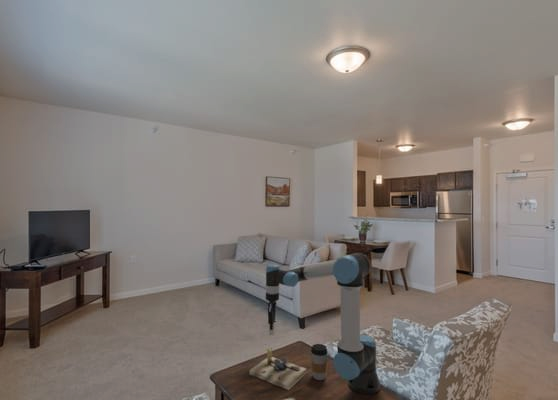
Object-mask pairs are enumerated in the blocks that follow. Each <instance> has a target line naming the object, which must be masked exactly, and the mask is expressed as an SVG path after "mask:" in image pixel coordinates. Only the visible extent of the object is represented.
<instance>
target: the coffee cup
mask: <svg viewBox="0 0 558 400" xmlns="http://www.w3.org/2000/svg"><path fill="white" fill-rule="evenodd" d="M310 353H311V369H312V377H313V379H315V380H316V381H323V380H325V378H326V373H327V363H328V361H327V359H328V358H327V356H328V349H327V346H326V345H324V344H321V343H315V344H313V345H312V346H311V348H310Z"/></svg>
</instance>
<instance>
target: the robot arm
mask: <svg viewBox="0 0 558 400" xmlns="http://www.w3.org/2000/svg"><path fill="white" fill-rule="evenodd" d="M371 265H372V264H371V261H370V259H369V257H368V256H367V255H365V254H364V253H361V252H354V253H351V254H345V255H341V256H340V257H338V258H336V260H332V261H328V262H322V263H317V264H311V265H306V266H300V267H297V268H292V269H289V270H282V269H281V267H280V265H279V264H276V263H275V264H271V263H270V264H267V265H266V271H265V286H264V288H265V292H266V293H265V300H266V301H268V304H267V321H268V322H267V324H268V329H269V330H268V336H274V335H275V323H276V322H277V320H276V313H277V304H278V303H277V301H278V300H280V285H283V286H287V287H292V288H293V287H296V285H298V283H299V282H304V281H311V280H316V279H322V278H330V277H334V278H335V280H336V285H337V286H338V287H339V288H340V340H339V341H338V342H337V353H336V354H335V355H334V357H333V360H332V364H333V368H334V370H335V371H336V372H337V373H338V375H339V376H340V377H341V378H343V379H344V380H347V385H348V387H349V388H350V389H351V390H353V391H354V392H356V393H358V394H362V395H373V394H376V393H378V392H379V391H380V389H381V382H380V379H379V376H378V373H377V344H376V343H377V341H376V340H375V338H373V337H371V336H370V335H369V336H368V335H365V334H361V300H360V299H361V294H360V293H361V292H360V291H361V289H362V288H363V287H364V277H366V276H367V275H368V274H369V273H370V270H371Z"/></svg>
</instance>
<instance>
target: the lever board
mask: <svg viewBox="0 0 558 400" xmlns="http://www.w3.org/2000/svg"><path fill="white" fill-rule="evenodd" d="M275 359H277V358H276V357H274V356H272V361H275ZM274 366H275V364H273V363H271V364H268V363H267V357H266V358H265V359H263V360H262V361H260V362H259V363H257V364H256V365H255V366H253V367H252V368H251V369H249V374H248V375H249V376H252V377H255V378H258V379H261V380H263V381H265V382H268V383H270V384H272V385H275V386H278V387H281V388H282V389H285V390H288V391H290V390H291V389H292V388H293V387H294V386H295V385H296V384H297V383H298V382H299V381H300V380H301V379H302V378H303V377H305V375H306V374H307V373H308V369H307V367H303V366H300V365H297V364H294V363H291V362H289V361H287V363H286V366H289V367H290V368H289V369H288V368H285V369H283V370H277V369H274Z"/></svg>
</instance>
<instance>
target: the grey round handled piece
mask: <svg viewBox="0 0 558 400" xmlns="http://www.w3.org/2000/svg"><path fill="white" fill-rule="evenodd" d="M266 354H267V355H266V356H267V357H266V358H267V363H268V364H271V363H273V364H275V366H274V369H277V370H283V369H285V368H288V369H289V368H290V367H289V366H286V363H287V362H288V361H287V359H285V358H283V357H278V358H277V359H275V361H272V357H273V349H272V348H267V353H266Z"/></svg>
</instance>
